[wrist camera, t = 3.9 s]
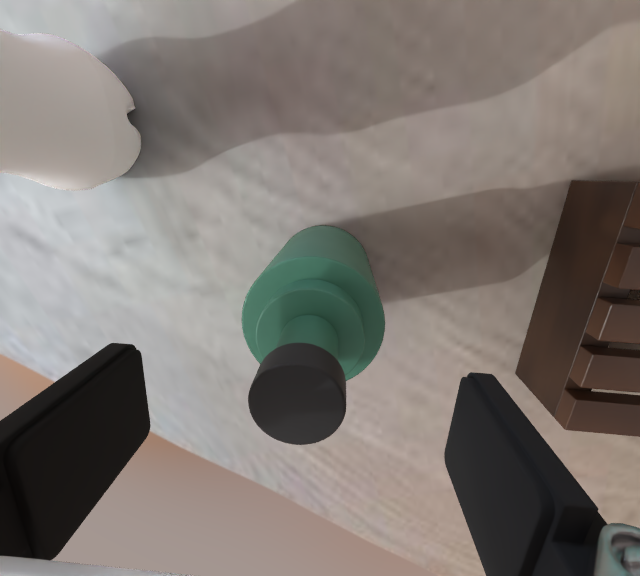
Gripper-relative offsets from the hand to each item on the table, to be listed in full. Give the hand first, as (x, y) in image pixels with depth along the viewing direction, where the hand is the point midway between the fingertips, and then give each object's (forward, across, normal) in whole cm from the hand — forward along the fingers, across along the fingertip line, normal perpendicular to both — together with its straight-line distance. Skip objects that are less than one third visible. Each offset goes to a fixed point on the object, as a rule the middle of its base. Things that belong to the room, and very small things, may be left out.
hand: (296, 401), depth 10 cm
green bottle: (+13, 0, 0) cm, 13 cm away
